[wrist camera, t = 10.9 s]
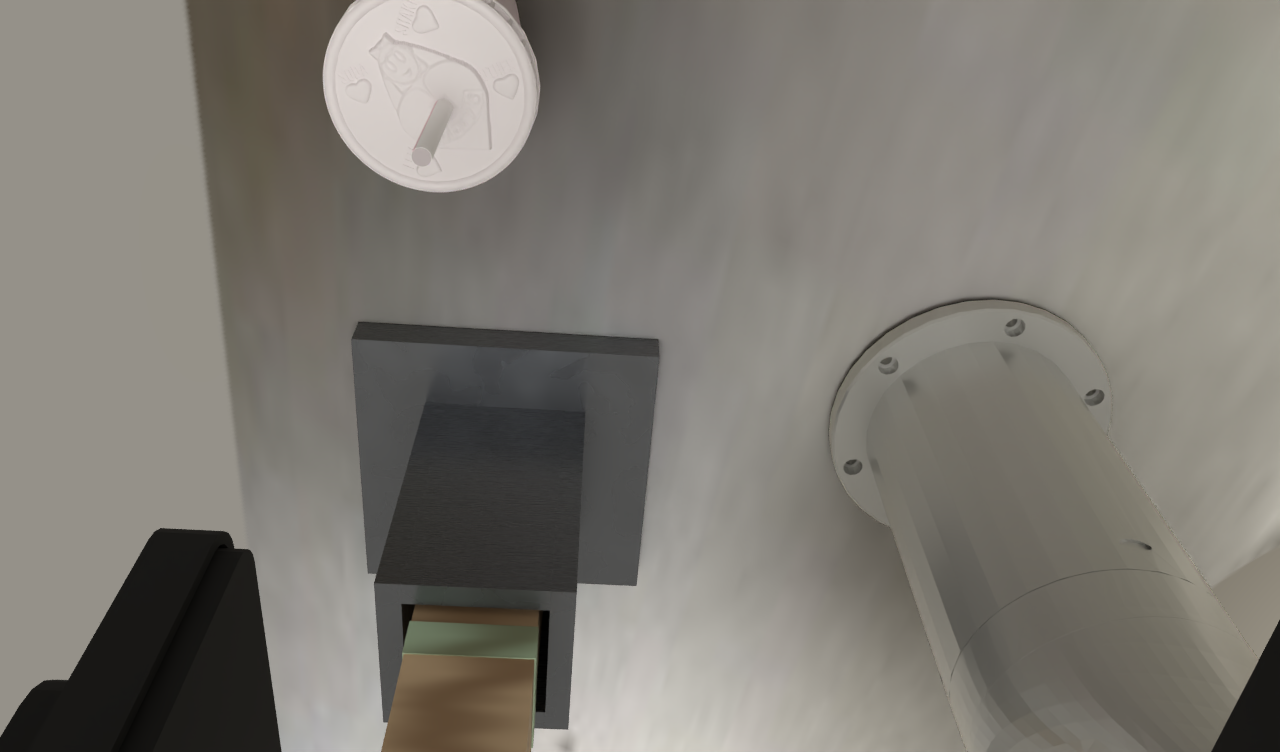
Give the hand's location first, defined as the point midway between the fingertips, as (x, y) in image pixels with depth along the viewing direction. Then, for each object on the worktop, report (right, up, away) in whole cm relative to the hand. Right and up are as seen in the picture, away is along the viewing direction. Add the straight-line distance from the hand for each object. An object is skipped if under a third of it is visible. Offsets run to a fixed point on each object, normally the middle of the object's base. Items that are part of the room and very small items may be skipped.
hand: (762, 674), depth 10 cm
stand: (-7, -1, +41) cm, 41 cm away
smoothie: (-7, +16, +30) cm, 35 cm away
